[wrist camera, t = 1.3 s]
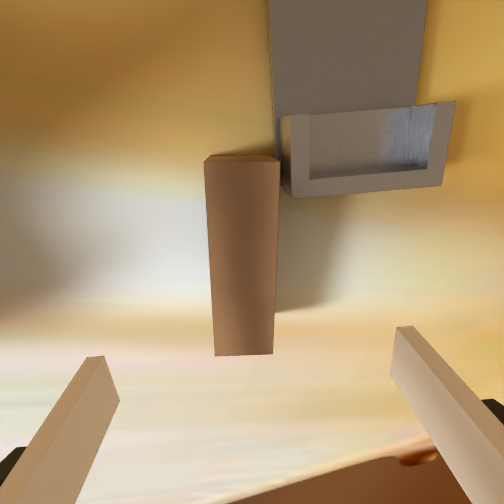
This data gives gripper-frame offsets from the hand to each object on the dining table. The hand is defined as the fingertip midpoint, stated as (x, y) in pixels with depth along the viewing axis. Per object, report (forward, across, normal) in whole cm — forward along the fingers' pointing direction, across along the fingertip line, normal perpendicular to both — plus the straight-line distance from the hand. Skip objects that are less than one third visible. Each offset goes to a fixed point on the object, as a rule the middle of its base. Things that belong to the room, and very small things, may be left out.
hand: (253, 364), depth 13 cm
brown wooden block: (+16, 0, 0) cm, 16 cm away
